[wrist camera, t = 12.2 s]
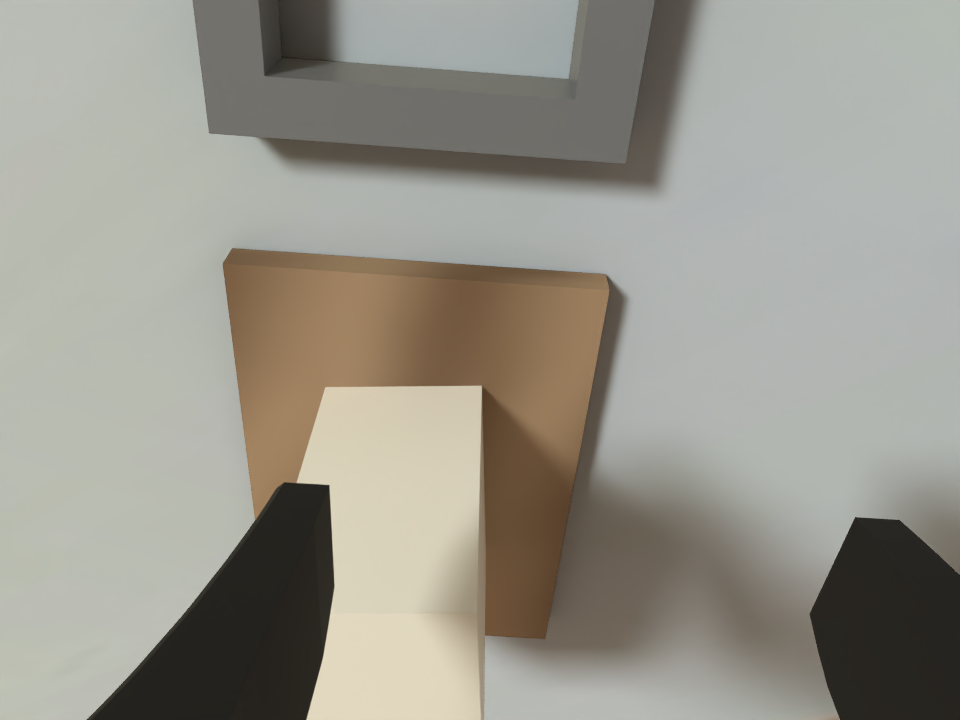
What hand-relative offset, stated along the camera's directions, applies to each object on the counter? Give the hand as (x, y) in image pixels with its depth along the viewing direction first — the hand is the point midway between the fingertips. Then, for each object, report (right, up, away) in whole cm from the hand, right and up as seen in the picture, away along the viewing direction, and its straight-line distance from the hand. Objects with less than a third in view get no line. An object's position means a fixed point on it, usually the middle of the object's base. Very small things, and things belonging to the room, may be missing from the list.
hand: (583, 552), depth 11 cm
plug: (-3, 0, +11) cm, 11 cm away
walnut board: (-3, 0, +12) cm, 12 cm away
